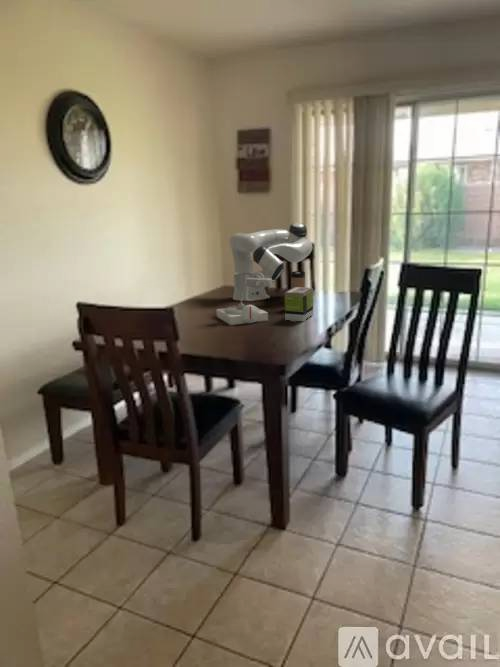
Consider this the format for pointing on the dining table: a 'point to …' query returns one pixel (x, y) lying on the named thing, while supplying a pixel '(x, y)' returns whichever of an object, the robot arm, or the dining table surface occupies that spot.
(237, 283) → the chalice
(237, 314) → the dial scale
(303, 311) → the tea box
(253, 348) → the dining table surface
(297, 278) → the travel mug
